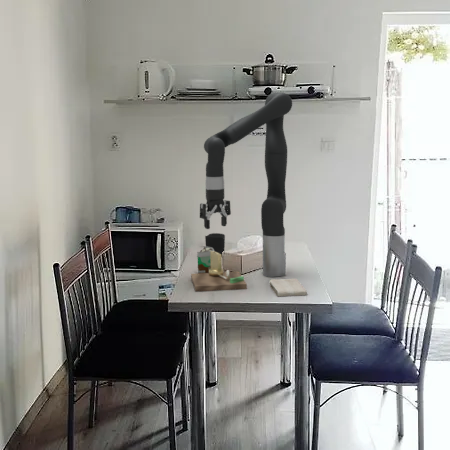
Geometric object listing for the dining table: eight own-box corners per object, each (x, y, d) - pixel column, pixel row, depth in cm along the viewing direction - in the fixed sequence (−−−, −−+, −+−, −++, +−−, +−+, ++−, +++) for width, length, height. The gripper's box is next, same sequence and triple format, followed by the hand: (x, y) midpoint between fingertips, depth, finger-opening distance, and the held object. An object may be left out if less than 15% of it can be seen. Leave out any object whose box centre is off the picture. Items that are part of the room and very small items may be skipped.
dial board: (238, 276, 257) (238, 267, 256) (246, 288, 238) (246, 280, 237) (191, 278, 254) (191, 270, 253) (195, 291, 235) (195, 282, 235)
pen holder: (202, 254, 297) (202, 234, 295) (220, 252, 301) (219, 232, 299) (210, 258, 288) (209, 237, 286) (228, 256, 292) (228, 236, 290)
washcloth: (296, 283, 247) (296, 276, 246) (308, 296, 229) (308, 288, 229) (267, 285, 245) (267, 277, 244) (277, 298, 227) (277, 290, 227)
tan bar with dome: (205, 273, 253) (205, 251, 252) (218, 271, 256) (218, 250, 254) (221, 281, 240) (221, 259, 239) (235, 279, 243) (235, 257, 241)
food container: (211, 275, 258) (211, 252, 256) (197, 275, 259) (197, 252, 257) (217, 268, 270) (217, 246, 268) (204, 268, 271) (203, 246, 269)
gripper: (222, 185, 252) (223, 224, 255) (195, 188, 243) (196, 228, 246) (234, 186, 247) (234, 226, 249) (206, 190, 238) (207, 231, 240)
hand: (215, 227), depth 248 cm, fingers open, 8 cm apart
